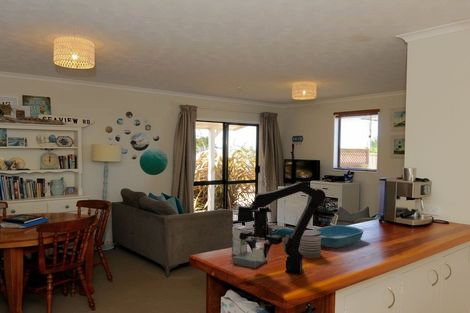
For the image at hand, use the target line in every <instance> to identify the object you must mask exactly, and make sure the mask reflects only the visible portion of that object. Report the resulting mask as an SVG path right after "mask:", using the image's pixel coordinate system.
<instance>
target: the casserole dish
mask: <svg viewBox="0 0 470 313" xmlns="http://www.w3.org/2000/svg"><path fill="white" fill-rule="evenodd" d="M313 230H317V231H320V232H321V233H320V234H321V247H322V246H323V247H327V248H330V247H331V248H332V249H338V248H343V247H347V246H350V245H353V244H355V243H358V242H360V241H361V239H362V237H363V234H364V229H361V228H359V227H355V226H351V225H343V224H342V225H341V224H334V225H327V226H324V227H319V228H315V229H313ZM349 244H350V245H349ZM346 245H347V246H346ZM331 248H330V249H331Z"/></svg>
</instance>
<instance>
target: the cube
mask: <svg viewBox="0 0 470 313" xmlns="http://www.w3.org/2000/svg"><path fill="white" fill-rule="evenodd" d="M268 255H269V254H268ZM268 255H267V257H266V258H265V257H264V246H262V245H261V246H259V245H256V247H255V248H253V260H256V261H262V262H263V261H265V260H266V259H267V260H268V257H269V256H268Z"/></svg>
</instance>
